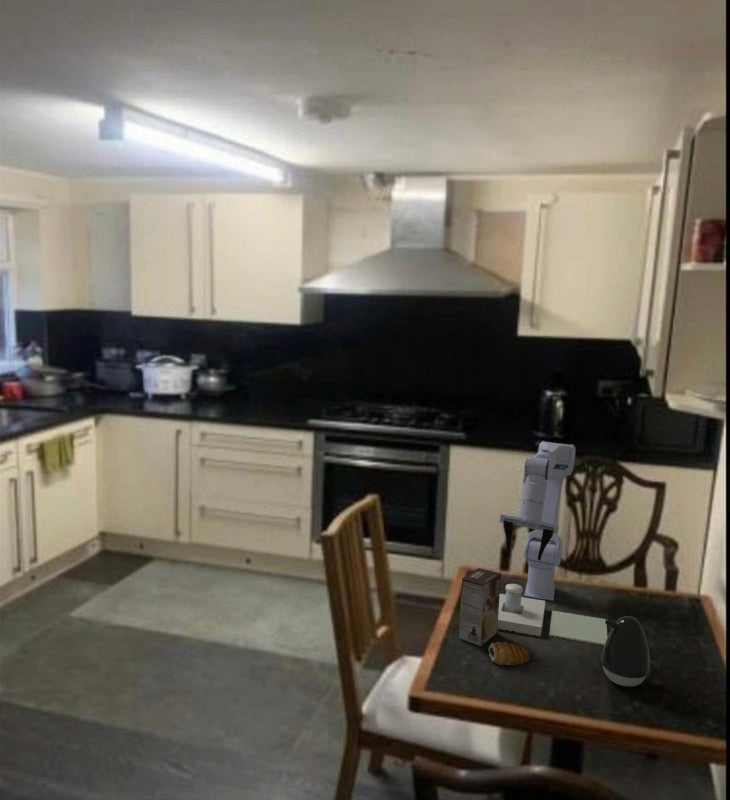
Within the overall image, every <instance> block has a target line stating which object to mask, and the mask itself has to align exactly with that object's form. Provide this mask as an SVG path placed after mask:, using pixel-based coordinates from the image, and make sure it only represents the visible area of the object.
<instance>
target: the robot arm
mask: <svg viewBox="0 0 730 800" xmlns="http://www.w3.org/2000/svg"><path fill="white" fill-rule="evenodd" d="M575 459H576V446H575V445H574V444H566V443H565V444H564V443H560V442H559V443H557V442H550V441H545V440H542V441H541V442H540V443H539V446H538V449H537V453H536V454H535V455H534V456H530V457H529V458H526V459H525V463H524V468H523V478H522V479H523V482H522V483H523V488H522V494H521V500H520V501H521V502H520V506H519V511H518V512H519V513H518V516H515V515H508V514H504V513H503V514H502V513H500V516H499V523H501V524H502V525H503V529H504V533H505V539H506V554H509V555H510V553H511V549H512V548H511V547H512V539H513V533H514V528H515V526H518V527H521V528H522V527H523V528H527V529H532V530H533V531H530V532H529V533H528V535H527V537H526V541H525V542H524V543H525V544H524V547H523V548H524V549H523V558H524V559H525V560H524V561H527V565H528V573H527V583H526V585H525V591H524V597H526V598H532V599H538V600H544V601H554V599H555V597H554V596H555V592H556V591H555V590H556V589H555V588H556V587H555V585H554V584H555V583H554V581H555V571H556V570H555V569H556V567H558V566H559V565H561V561H562V554H563V541H562V540H563V539H562V538H561V537H560V536H559V528H560V525H558V524H557V519H558V512H559V508H560V501H561V496H562V495H561V494H562V488H563V484H564V482H565V480H566V479H565V478H566V477H568V476H571V475H572V473H573V471H574V465H575Z"/></svg>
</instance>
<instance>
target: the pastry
mask: <svg viewBox="0 0 730 800" xmlns="http://www.w3.org/2000/svg"><path fill="white" fill-rule="evenodd" d="M488 654H489V655H488V656H489V657H490V659H491V662H492V663H494V664H497V665H498V666H504V665H506V666H517V665H518V666H519V665H522V664H525V663H528V662H529V661H530V654H529V650H528V649H527V648H525V647H523V646H519V645H518V644H513V643H509V642H507V641H503V642H501V641H496V642H491V643H490V645H489V646H488Z"/></svg>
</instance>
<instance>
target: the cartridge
mask: <svg viewBox="0 0 730 800" xmlns="http://www.w3.org/2000/svg"><path fill="white" fill-rule="evenodd" d="M523 591H524V590H523V586H522V585H520V584H517V583H508V584H506V585H505V594H506V601H505V611H504V612H510V613H516V614H520V607H521V597H522V592H523Z"/></svg>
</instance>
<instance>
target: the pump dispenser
mask: <svg viewBox="0 0 730 800" xmlns="http://www.w3.org/2000/svg"><path fill="white" fill-rule="evenodd" d="M605 624H607V626H608V627H611V629H610V631H609V633H608V634H607V639H606V642H605V645H604V646H603V649H602V652H601V653H602V654H601V657H600V659H601V661H600V662H601V665H602V669H603V671H604V673H605V676H606V677H607V678H608V679H609V680H610V681H611V682H613V683H614V684H617V685H618V686H621V687H627V688H629V687H630V688H631V687H636V686H638V685H641V684H642V683H643V682H644V681H645V679H646V677H647V676H648V675H649V673H650V664H651V662H650V660H651V659H650V650H649V644H648V640H647V639H648V638H647V636H646V633H645V630H644V628H643V626H642V625H641V622H640V621H639V620H638V619H637V618H636V617H633V616H628V615H625V616H622V617H620V618H619V619H617V620H616V621H612V620H611V619H606V621H605Z"/></svg>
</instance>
